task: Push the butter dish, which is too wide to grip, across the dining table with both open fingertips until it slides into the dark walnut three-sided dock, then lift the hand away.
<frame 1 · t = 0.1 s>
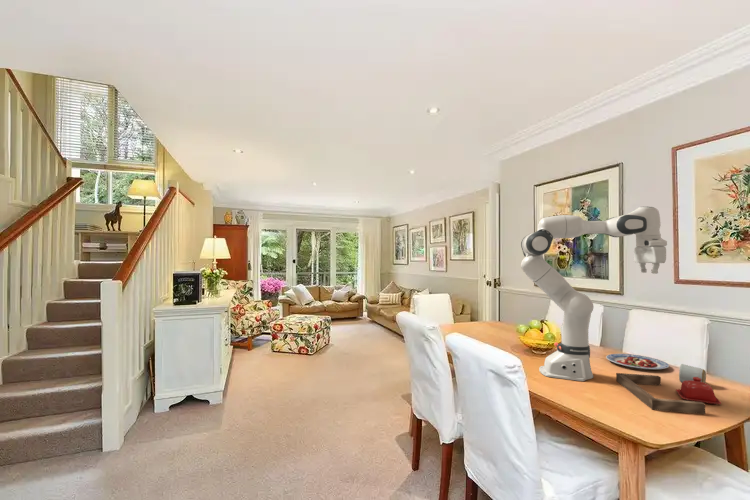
hand: (649, 273, 156), 48 cm above the table, tool pointing down, fingers open, 8 cm apart
ceramic plate: (636, 365, 177), on the table
ceramic mug: (692, 383, 151), on the table
dock: (658, 395, 137), on the table
butter dish: (697, 399, 134), on the table
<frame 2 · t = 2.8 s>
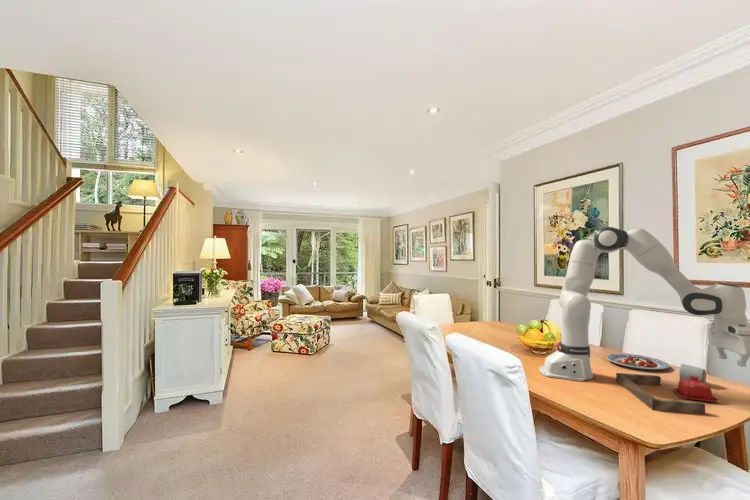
hand: (732, 362, 131), 15 cm above the table, tool pointing down, fingers open, 8 cm apart
butter dish: (694, 398, 136), on the table
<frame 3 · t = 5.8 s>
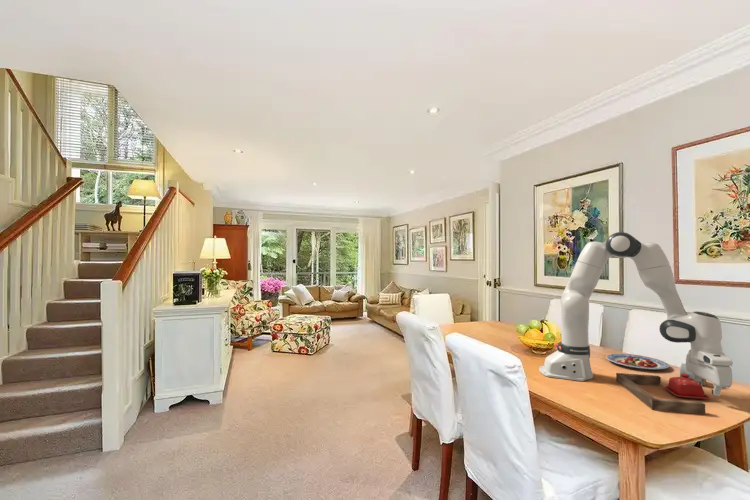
hand: (707, 390, 133), 3 cm above the table, tool pointing down, fingers open, 8 cm apart
butter dish: (685, 395, 138), on the table, touching gripper
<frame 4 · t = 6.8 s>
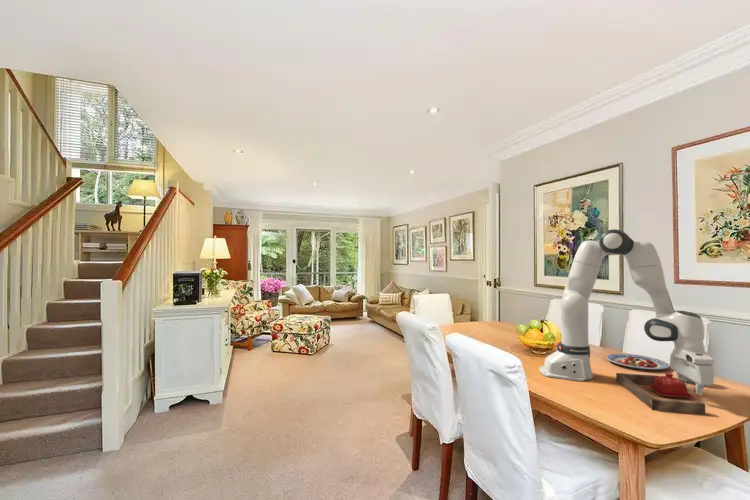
hand: (690, 389, 135), 4 cm above the table, tool pointing down, fingers open, 8 cm apart
butter dish: (669, 394, 139), on the table, touching gripper
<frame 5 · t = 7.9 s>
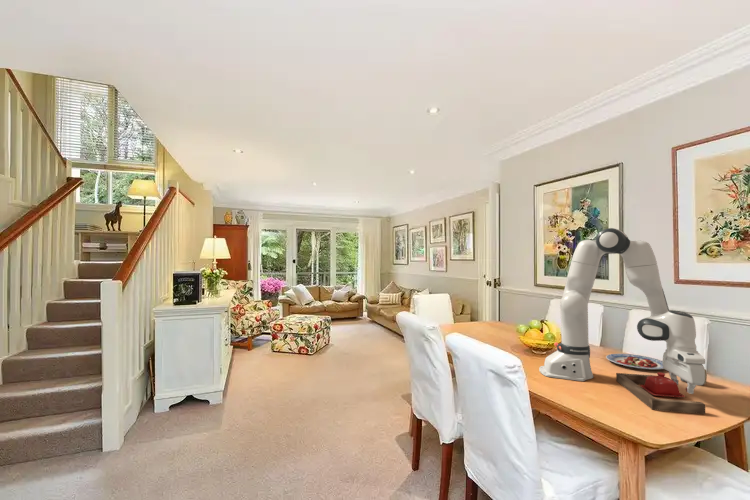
hand: (682, 388, 135), 4 cm above the table, tool pointing down, fingers open, 8 cm apart
butter dish: (661, 394, 140), on the table
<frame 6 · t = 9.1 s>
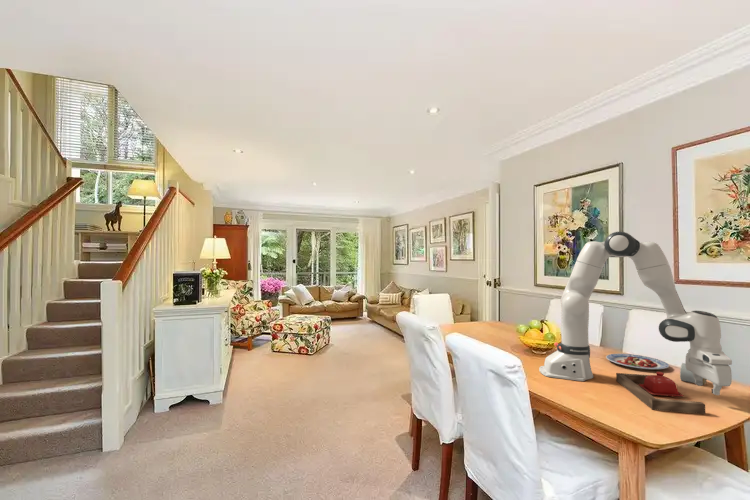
hand: (707, 389, 133), 4 cm above the table, tool pointing down, fingers open, 8 cm apart
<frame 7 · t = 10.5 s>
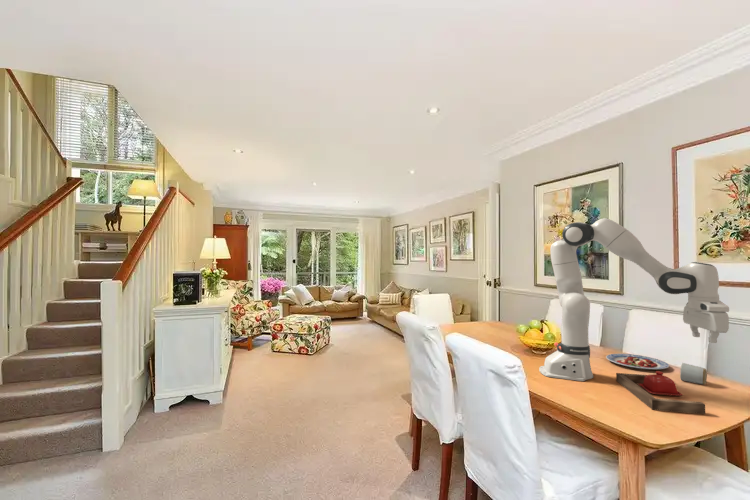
hand: (704, 339, 134), 23 cm above the table, tool pointing down, fingers open, 8 cm apart
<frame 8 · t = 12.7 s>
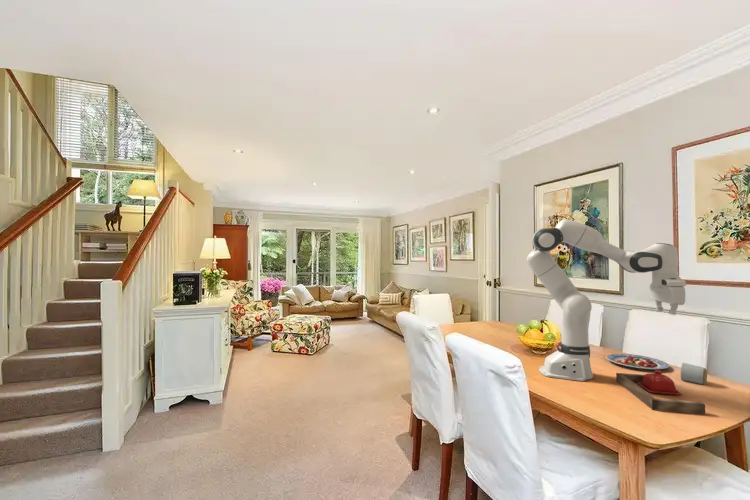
hand: (666, 312, 149), 31 cm above the table, tool pointing down, fingers open, 8 cm apart
butter dish: (658, 391, 143), on the table
at the end: butter dish inside the target area on the dock (6.8 cm from its centre), point -0.5 cm above the dock's base; butter dish tilted 0°; the gripper is holding nothing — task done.
